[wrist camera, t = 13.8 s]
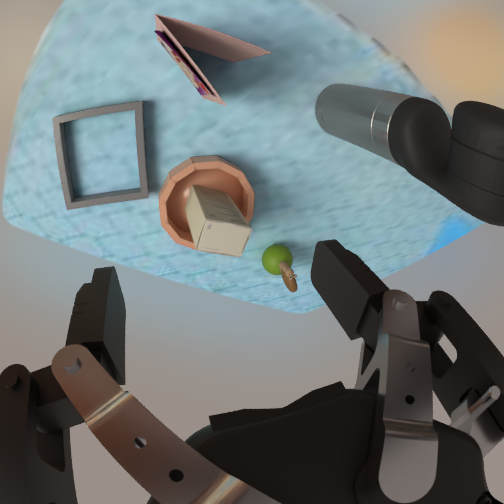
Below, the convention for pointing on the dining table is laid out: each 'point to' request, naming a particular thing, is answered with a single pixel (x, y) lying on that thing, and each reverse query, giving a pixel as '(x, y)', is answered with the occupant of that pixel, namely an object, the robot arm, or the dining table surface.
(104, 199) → the open rectangular frame
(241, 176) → the bowl
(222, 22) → the dining table surface
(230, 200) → the skincare box
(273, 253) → the snail figurine
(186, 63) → the greeting card
